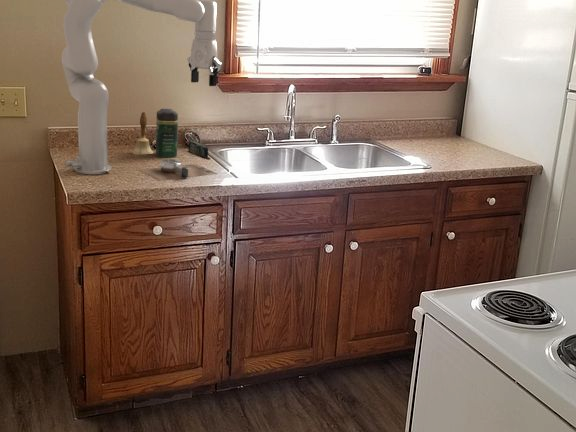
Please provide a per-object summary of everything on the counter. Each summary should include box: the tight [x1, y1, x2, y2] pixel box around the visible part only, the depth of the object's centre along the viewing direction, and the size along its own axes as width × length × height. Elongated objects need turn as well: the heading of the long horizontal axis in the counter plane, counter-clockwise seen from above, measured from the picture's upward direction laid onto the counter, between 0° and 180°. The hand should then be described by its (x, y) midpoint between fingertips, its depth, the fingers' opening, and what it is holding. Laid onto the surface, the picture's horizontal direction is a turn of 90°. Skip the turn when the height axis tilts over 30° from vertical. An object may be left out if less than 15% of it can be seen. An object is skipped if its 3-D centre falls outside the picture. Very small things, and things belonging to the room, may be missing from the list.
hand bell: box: [131, 111, 154, 156], centre depth 269 cm, size 8×8×16 cm
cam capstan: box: [160, 158, 189, 178], centre depth 241 cm, size 14×7×3 cm, turn 37°
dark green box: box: [188, 140, 211, 160], centre depth 273 cm, size 5×3×15 cm
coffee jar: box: [155, 108, 179, 159], centre depth 264 cm, size 10×8×19 cm
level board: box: [138, 163, 219, 182], centre depth 244 cm, size 23×15×1 cm, turn 127°
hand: (203, 84), depth 256 cm, fingers open, 9 cm apart
